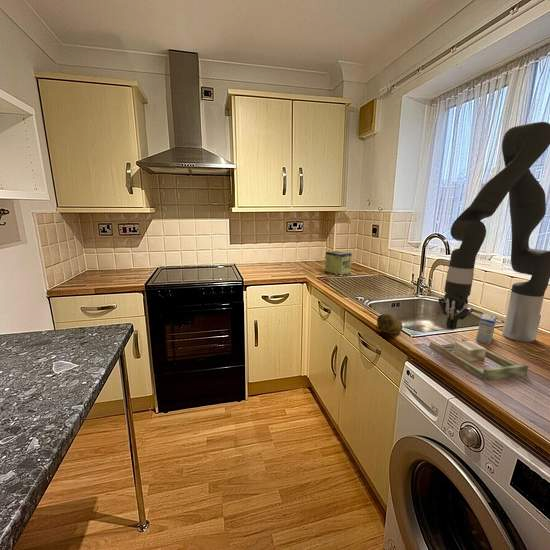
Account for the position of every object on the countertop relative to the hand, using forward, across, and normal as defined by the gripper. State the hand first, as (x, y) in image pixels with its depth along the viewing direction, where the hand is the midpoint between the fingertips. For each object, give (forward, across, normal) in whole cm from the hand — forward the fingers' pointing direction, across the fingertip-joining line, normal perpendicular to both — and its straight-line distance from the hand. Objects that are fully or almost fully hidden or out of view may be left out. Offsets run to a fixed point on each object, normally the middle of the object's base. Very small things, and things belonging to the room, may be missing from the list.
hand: (450, 328), depth 103 cm
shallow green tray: (+6, -10, 0) cm, 12 cm away
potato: (+6, +13, +14) cm, 20 cm away
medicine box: (+6, +2, -18) cm, 19 cm away
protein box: (+6, +114, -10) cm, 114 cm away
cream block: (+6, -8, 0) cm, 10 cm away
